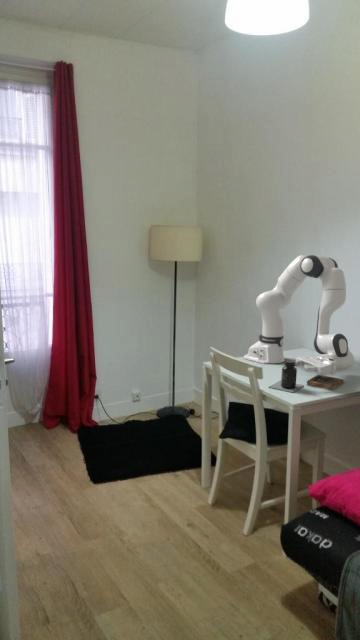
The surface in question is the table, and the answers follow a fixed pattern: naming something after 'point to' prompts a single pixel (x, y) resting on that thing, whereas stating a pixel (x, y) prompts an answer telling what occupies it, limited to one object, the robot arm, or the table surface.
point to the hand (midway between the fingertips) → (299, 366)
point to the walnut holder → (314, 383)
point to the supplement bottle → (289, 375)
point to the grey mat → (279, 387)
